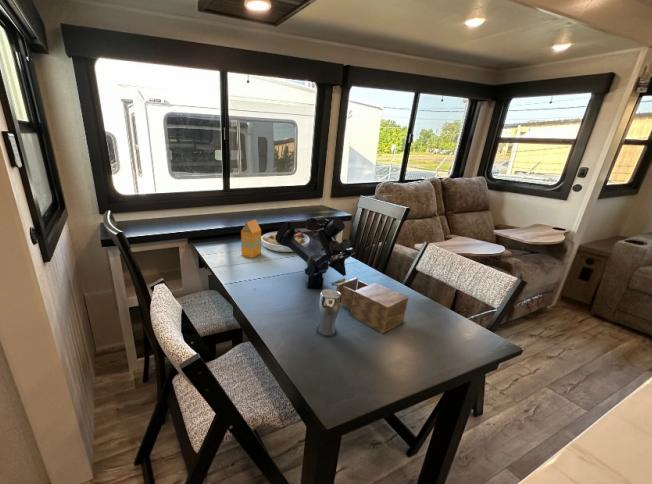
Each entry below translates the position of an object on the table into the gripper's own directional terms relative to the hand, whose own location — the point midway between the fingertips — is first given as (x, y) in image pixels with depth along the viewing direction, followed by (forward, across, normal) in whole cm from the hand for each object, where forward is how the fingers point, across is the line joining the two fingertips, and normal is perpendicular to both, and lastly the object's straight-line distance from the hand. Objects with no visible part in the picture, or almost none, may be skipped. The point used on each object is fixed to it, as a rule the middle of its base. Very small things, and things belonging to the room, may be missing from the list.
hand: (344, 275), depth 126 cm
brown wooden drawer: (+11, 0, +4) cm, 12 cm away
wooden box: (+20, 0, -4) cm, 21 cm away
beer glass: (+17, -22, 0) cm, 27 cm away
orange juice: (-39, -2, +55) cm, 68 cm away
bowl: (-40, +24, +56) cm, 73 cm away
